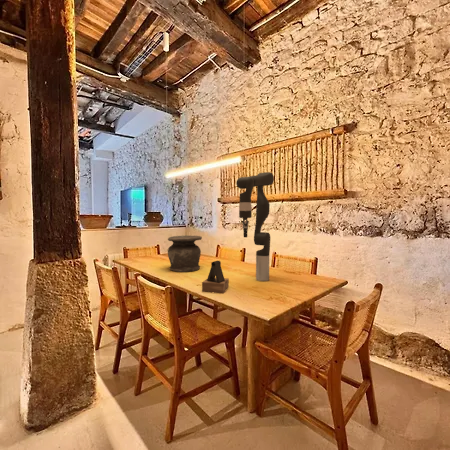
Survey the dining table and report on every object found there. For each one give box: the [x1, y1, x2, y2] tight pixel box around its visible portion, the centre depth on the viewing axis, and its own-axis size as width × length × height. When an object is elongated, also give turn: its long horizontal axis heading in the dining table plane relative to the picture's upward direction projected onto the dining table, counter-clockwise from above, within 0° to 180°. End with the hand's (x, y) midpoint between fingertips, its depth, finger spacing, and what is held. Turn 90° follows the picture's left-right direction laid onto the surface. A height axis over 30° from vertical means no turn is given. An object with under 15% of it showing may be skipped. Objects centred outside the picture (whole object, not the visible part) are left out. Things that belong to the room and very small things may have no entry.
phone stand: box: [206, 260, 225, 283], centre depth 159 cm, size 9×6×12 cm, turn 58°
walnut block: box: [201, 277, 230, 294], centre depth 161 cm, size 13×13×6 cm
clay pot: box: [167, 235, 202, 273], centre depth 218 cm, size 29×30×30 cm
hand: (245, 236), depth 161 cm, fingers open, 8 cm apart
